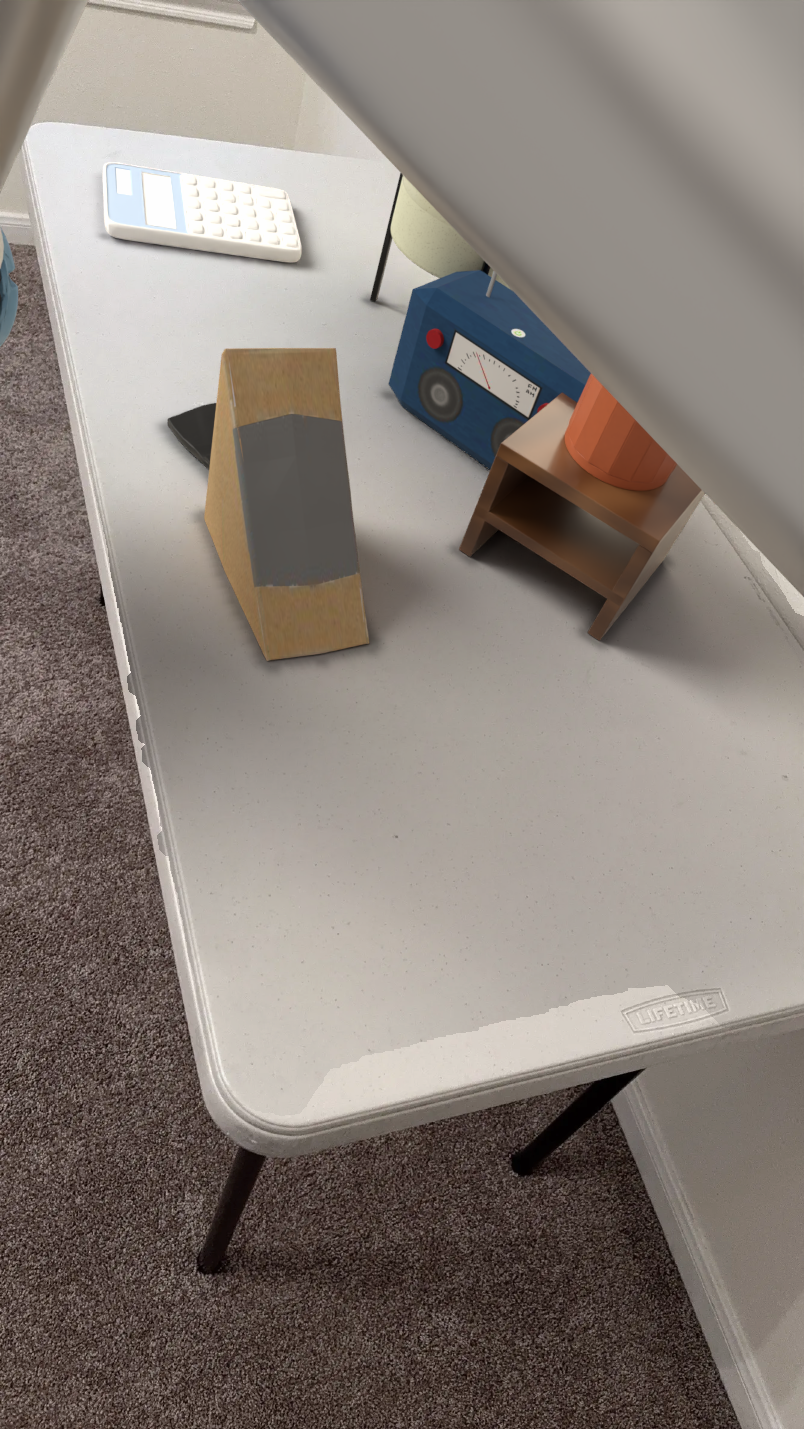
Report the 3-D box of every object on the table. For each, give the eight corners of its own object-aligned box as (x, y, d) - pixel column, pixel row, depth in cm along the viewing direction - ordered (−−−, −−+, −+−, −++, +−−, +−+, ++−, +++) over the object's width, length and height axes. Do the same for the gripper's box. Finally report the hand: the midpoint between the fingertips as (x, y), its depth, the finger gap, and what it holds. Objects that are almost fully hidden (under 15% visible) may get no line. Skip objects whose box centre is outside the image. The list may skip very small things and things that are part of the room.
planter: (400, 273, 108) (461, 38, 91) (528, 336, 107) (616, 109, 89) (338, 327, 98) (393, 75, 81) (478, 397, 97) (564, 156, 80)
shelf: (458, 549, 82) (500, 442, 74) (534, 479, 91) (579, 377, 83) (599, 641, 80) (659, 541, 71) (663, 560, 88) (724, 462, 80)
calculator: (301, 266, 104) (305, 249, 102) (104, 238, 98) (104, 219, 96) (286, 203, 111) (288, 186, 110) (102, 173, 105) (102, 155, 104)
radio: (375, 400, 93) (429, 185, 78) (431, 373, 98) (492, 166, 83) (549, 524, 87) (643, 318, 72) (599, 488, 93) (696, 289, 77)
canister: (545, 447, 75) (609, 302, 66) (593, 404, 80) (658, 265, 71) (643, 507, 73) (723, 367, 64) (685, 459, 79) (764, 324, 70)
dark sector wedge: (347, 449, 87) (350, 434, 86) (215, 487, 79) (217, 471, 78) (293, 393, 90) (296, 378, 89) (161, 425, 82) (163, 409, 81)
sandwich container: (263, 663, 69) (298, 500, 58) (199, 516, 77) (219, 346, 65) (372, 645, 73) (426, 488, 62) (301, 506, 81) (337, 343, 69)
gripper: (565, 494, 42) (549, 259, 56) (1066, 620, 46) (938, 371, 60) (641, 339, 37) (602, 118, 50) (1205, 497, 40) (1028, 252, 54)
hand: (784, 255), depth 55 cm, fingers open, 13 cm apart
